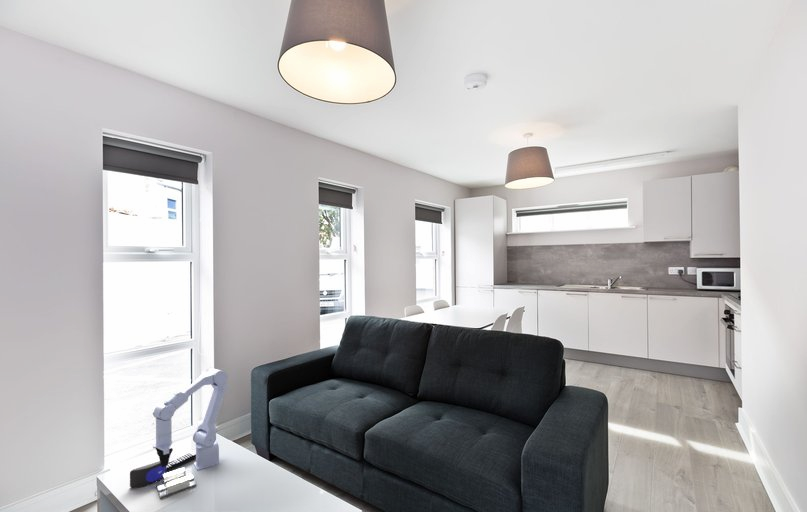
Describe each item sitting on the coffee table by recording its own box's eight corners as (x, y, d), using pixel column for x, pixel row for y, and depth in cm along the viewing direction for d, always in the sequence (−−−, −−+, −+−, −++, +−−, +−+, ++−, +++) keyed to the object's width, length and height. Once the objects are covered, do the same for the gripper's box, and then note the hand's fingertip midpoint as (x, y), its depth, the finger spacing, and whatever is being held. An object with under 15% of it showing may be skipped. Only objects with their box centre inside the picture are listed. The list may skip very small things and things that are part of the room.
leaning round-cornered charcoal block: (130, 491, 156) (130, 473, 156) (129, 487, 159) (129, 469, 159) (167, 479, 165) (167, 461, 165) (166, 475, 168) (165, 458, 168)
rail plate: (190, 475, 168) (190, 464, 168) (196, 487, 159) (196, 476, 159) (156, 486, 159) (156, 475, 159) (160, 500, 150) (160, 488, 150)
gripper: (150, 429, 164) (151, 460, 164) (154, 442, 153) (155, 475, 153) (169, 425, 168) (169, 454, 168) (174, 436, 157) (175, 468, 157)
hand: (164, 464), depth 161 cm, fingers open, 3 cm apart
